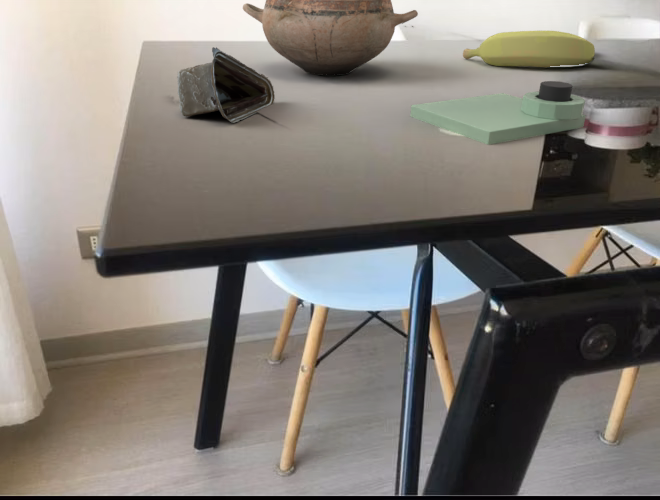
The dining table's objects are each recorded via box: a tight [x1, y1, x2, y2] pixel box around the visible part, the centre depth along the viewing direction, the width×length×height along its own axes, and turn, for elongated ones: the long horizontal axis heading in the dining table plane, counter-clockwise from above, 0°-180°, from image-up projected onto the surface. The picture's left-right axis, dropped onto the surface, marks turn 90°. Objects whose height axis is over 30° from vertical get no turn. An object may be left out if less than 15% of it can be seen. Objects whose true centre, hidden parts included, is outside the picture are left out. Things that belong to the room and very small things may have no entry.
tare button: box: [538, 80, 573, 102], centre depth 66 cm, size 3×3×2 cm
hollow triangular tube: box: [177, 46, 276, 123], centre depth 69 cm, size 10×7×12 cm
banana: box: [462, 30, 596, 68], centre depth 102 cm, size 14×6×20 cm
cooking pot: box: [242, 0, 419, 77], centre depth 90 cm, size 25×19×12 cm
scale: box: [409, 91, 587, 146], centre depth 67 cm, size 15×12×3 cm
